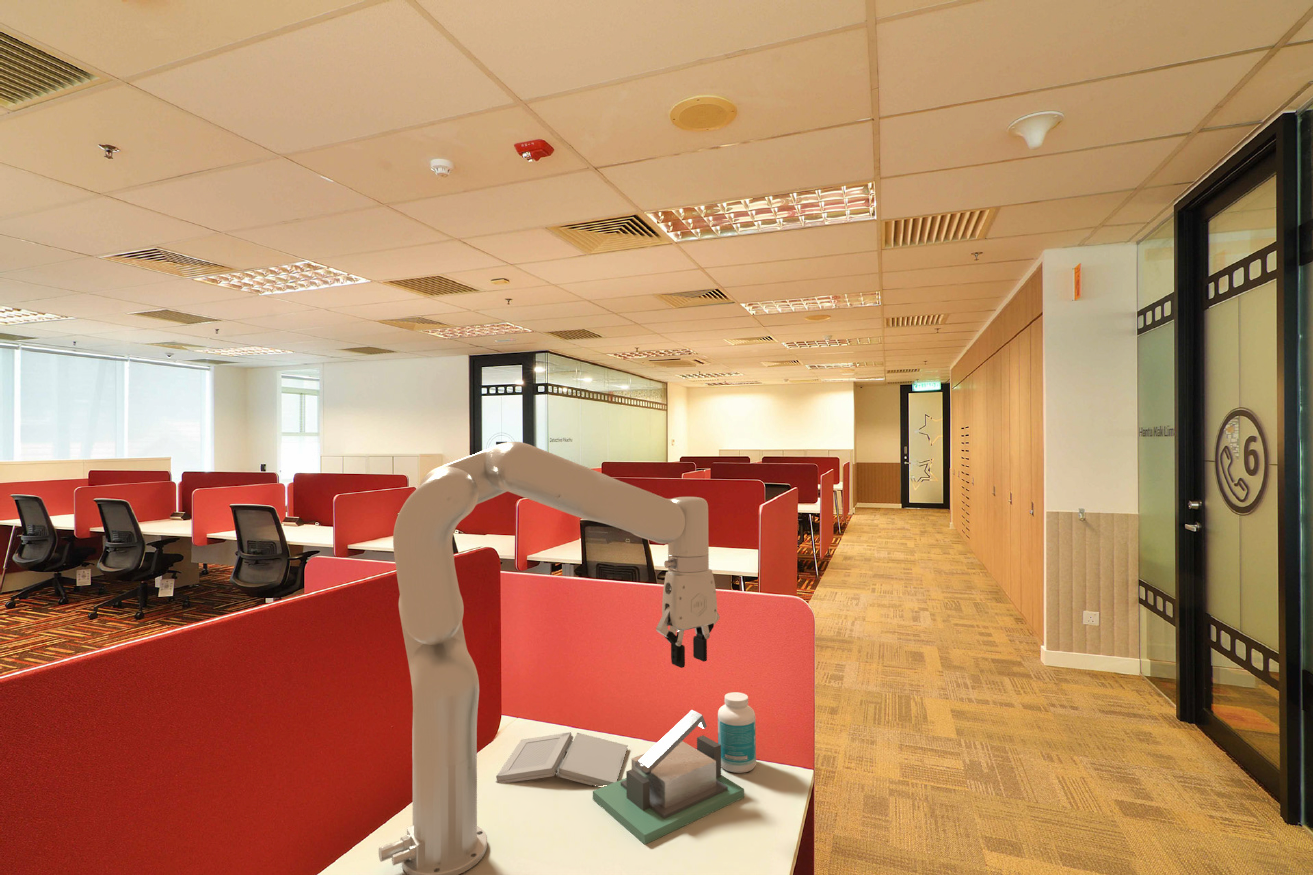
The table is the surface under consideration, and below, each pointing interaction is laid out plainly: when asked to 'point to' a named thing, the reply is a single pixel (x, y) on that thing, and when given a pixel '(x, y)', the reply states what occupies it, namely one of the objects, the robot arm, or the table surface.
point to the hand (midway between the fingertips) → (689, 661)
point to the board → (653, 821)
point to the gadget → (565, 759)
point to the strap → (670, 741)
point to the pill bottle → (737, 734)
